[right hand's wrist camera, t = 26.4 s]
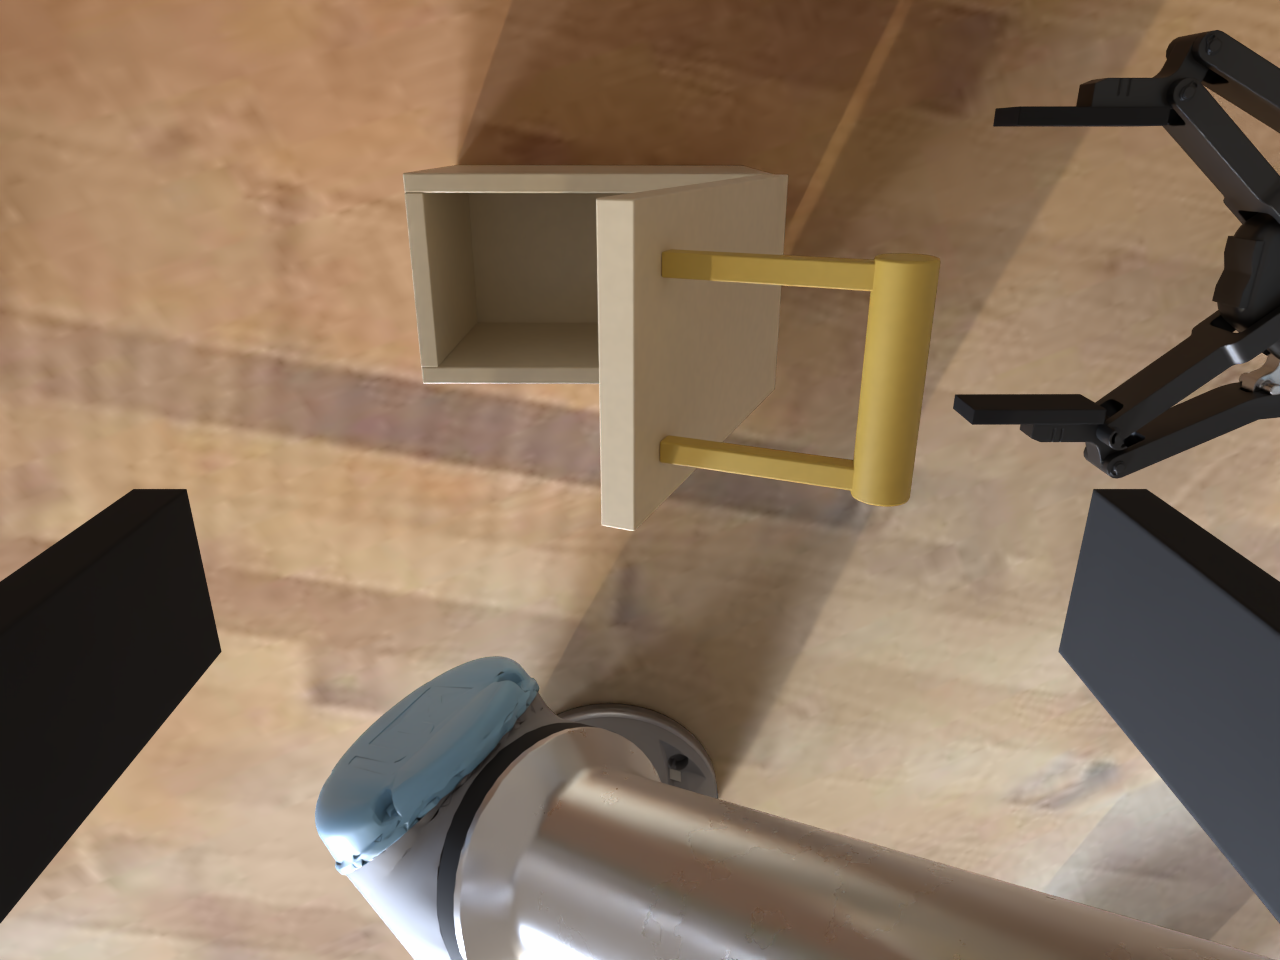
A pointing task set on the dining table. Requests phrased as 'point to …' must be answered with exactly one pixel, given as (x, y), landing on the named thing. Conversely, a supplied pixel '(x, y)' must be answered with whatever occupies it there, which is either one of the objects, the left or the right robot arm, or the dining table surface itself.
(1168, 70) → the left robot arm
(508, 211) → the chest
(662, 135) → the dining table surface
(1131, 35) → the dining table surface
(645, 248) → the lid
